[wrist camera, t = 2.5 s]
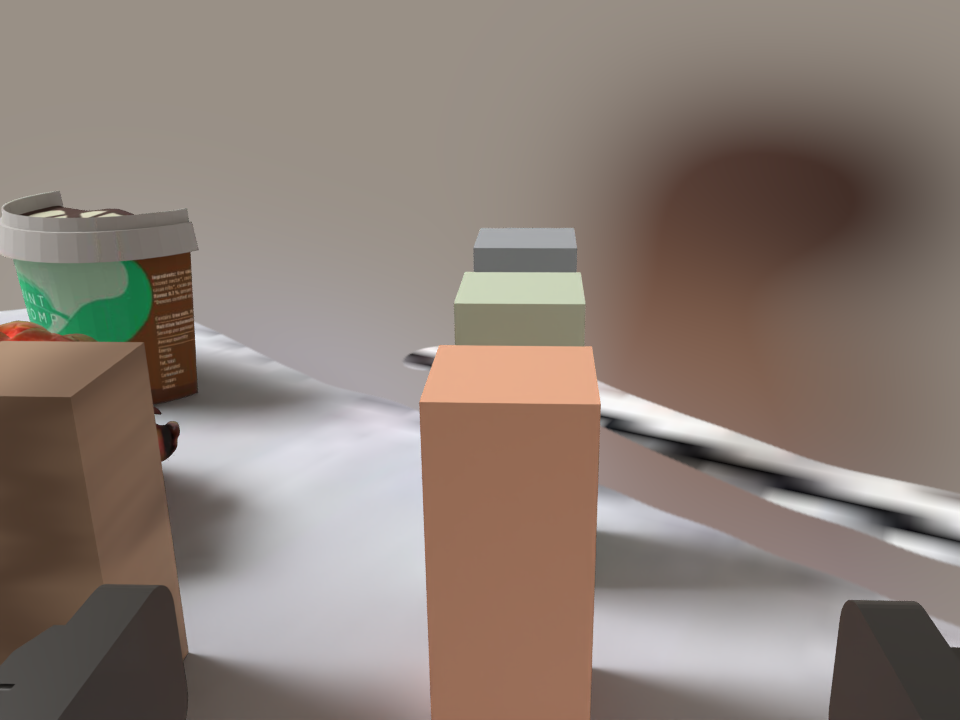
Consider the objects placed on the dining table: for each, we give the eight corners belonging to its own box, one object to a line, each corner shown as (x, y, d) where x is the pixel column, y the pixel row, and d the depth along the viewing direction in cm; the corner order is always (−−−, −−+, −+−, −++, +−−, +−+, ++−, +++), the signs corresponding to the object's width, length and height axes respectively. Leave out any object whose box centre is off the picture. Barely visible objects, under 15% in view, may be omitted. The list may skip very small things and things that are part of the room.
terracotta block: (433, 760, 23) (419, 401, 20) (448, 660, 27) (439, 345, 24) (588, 766, 23) (600, 404, 20) (582, 665, 27) (591, 346, 24)
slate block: (477, 479, 38) (473, 248, 35) (483, 440, 42) (480, 228, 39) (571, 481, 38) (576, 248, 35) (569, 441, 42) (573, 228, 39)
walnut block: (-13, 741, 24) (-97, 395, 21) (62, 647, 28) (1, 340, 25) (132, 747, 24) (70, 397, 21) (188, 652, 28) (144, 342, 24)
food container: (-21, 387, 50) (-59, 205, 46) (81, 356, 54) (53, 189, 51) (112, 438, 43) (79, 229, 40) (216, 398, 48) (194, 209, 44)
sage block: (460, 584, 31) (453, 303, 28) (469, 525, 35) (465, 272, 31) (577, 587, 31) (585, 304, 27) (574, 528, 34) (580, 272, 31)
